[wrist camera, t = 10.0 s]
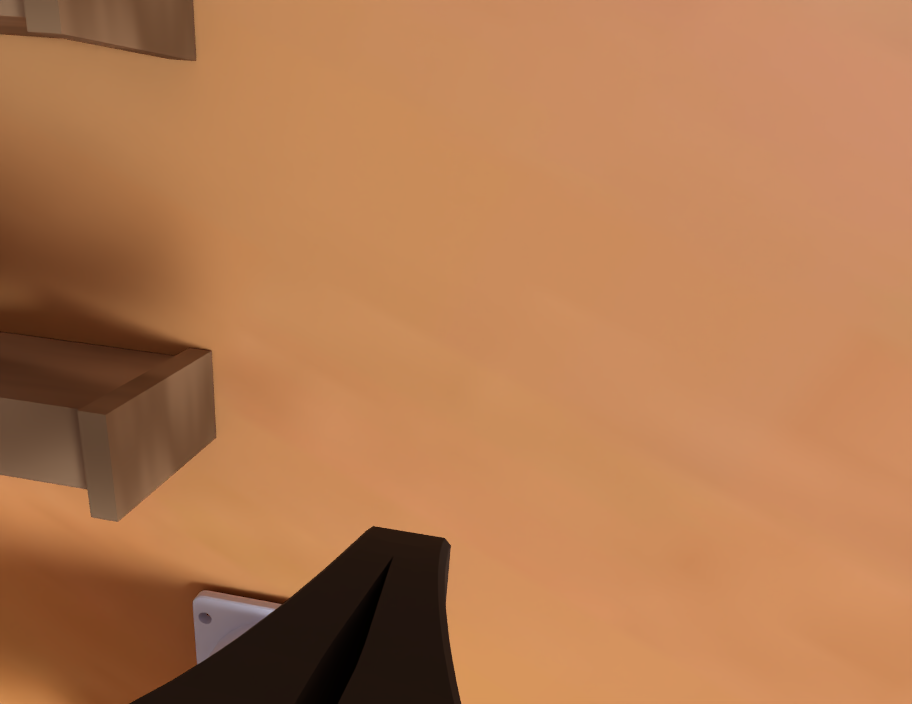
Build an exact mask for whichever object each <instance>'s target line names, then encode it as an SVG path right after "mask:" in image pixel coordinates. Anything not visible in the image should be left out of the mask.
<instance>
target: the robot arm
mask: <svg viewBox="0 0 912 704" xmlns="http://www.w3.org/2000/svg"><path fill="white" fill-rule="evenodd" d="M450 548H451V545H450V544H449V543H448V541H447V540H446V539H445V538H441V537H435V536H429V535H423V534H417V533H411V532H405V531H399V530H393V529H387V528H381V527H375V526H373V527H371V528H370V529H368V530H367V531H366V532H365V533H364V534H362V535H361V536H360V537H359V538H358V539H357V540H356V541H355V542H354V543H353V544H352V545H350V546H349V547H348V548H347V549H346V550H345V551H344V552H343V553H342V554H341V555H340V556H338V557H337V558H336V559H335V560H334V561H333V562H332V563H331V564H329V565H328V566H327V567H326V568H325V569H324V570H323V571H322V572H320V573H319V574H318V575H317V576H316V577H314V578H313V579H312V580H311V581H310V582H308V583H307V584H306V585H305V586H304V587H303V588H301V589H300V590H299V591H298V592H297V593H295V594H294V595H293V596H292V597H291V598H289V599H288V600H287V601H286V602H284V603H283V604H278V603H273V602H268V601H262V600H257V599H251V598H246V597H241V596H235V595H230V594H225V593H219V592H214V591H208V590H204V591H201V592H200V593H199V594H198V595H197V596H196V598H195V599H194V600H193V617H194V630H195V644H196V657H197V665H196V666H194V667H193V668H191V669H190V670H188V671H186V672H185V673H183V674H182V675H180V676H178V677H177V678H175V679H173V680H172V681H170V682H168V683H166V684H165V685H163V686H161V687H159V688H157V689H155V690H154V691H152V692H150V693H148V694H146V695H144V696H143V697H141V698H139V699H137V700H135V701H133V702H131V703H130V704H461V701H460V696H459V692H458V687H457V682H456V677H455V671H454V666H453V661H452V655H451V648H450V642H449V634H448V624H447V615H446V594H447V582H448V571H449V559H450ZM206 613H207V614H209V615H210V616H208V615H207V614H206Z"/></svg>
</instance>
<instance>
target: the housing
mask: <svg viewBox="0 0 912 704" xmlns="http://www.w3.org/2000/svg"><path fill="white" fill-rule="evenodd" d="M0 34H5V35H20V36H34V37H49V38H64V39H69V40H74V41H79V42H84V43H89V44H95V45H100V46H105V47H110V48H115V49H121V50H126V51H131V52H136V53H141V54H146V55H152V56H157V57H162V58H167V59H176V60H190V61H196V48H195V29H194V10H193V0H0ZM215 438H216V425H215V406H214V387H213V368H212V351H208V350H201V349H193V348H188V349H186V350H185V351H183V352H181V353H179V354H177V355H176V356H173V355H165V354H158V353H151V352H143V351H136V350H129V349H121V348H114V347H107V346H99V345H92V344H85V343H77V342H70V341H63V340H55V339H48V338H40V337H33V336H26V335H18V334H11V333H4V332H0V475H5V476H11V477H17V478H23V479H29V480H34V481H40V482H46V483H52V484H58V485H64V486H70V487H76V488H82V489H87V490H88V497H89V505H90V513H91V517H93V518H99V519H104V520H110V521H116V522H118V521H119V520H121V519H122V518H123V517H124V516H125V515H126V514H128V513H129V512H130V511H131V510H132V509H133V508H135V507H136V506H137V505H138V504H139V503H140V502H142V501H143V500H144V499H145V498H146V497H147V496H149V495H150V494H151V493H152V492H153V491H154V490H156V489H157V488H158V487H159V486H160V485H161V484H163V483H164V482H165V481H166V480H167V479H168V478H170V477H171V476H172V475H173V474H174V473H175V472H177V471H178V470H179V469H180V468H181V467H182V466H184V465H185V464H186V463H187V462H188V461H189V460H191V459H192V458H193V457H194V456H195V455H196V454H198V453H199V452H200V451H201V450H202V449H203V448H205V447H206V446H207V445H208V444H209V443H210V442H212V441H213V440H214V439H215Z"/></svg>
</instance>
